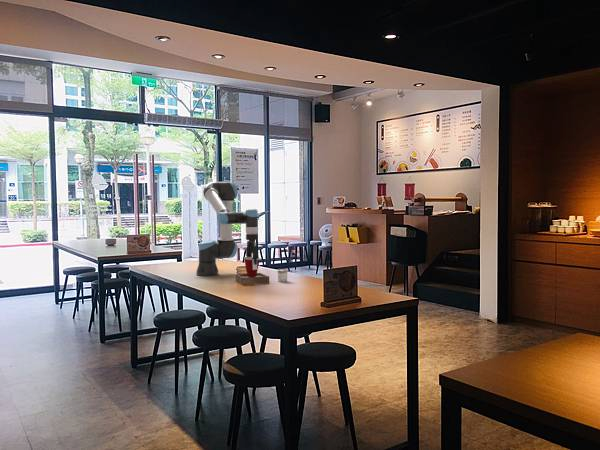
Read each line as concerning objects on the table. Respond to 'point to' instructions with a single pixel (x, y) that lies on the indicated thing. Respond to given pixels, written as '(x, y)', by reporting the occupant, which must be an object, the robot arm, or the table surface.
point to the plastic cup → (251, 266)
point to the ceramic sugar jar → (282, 275)
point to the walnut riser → (252, 279)
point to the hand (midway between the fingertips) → (252, 268)
